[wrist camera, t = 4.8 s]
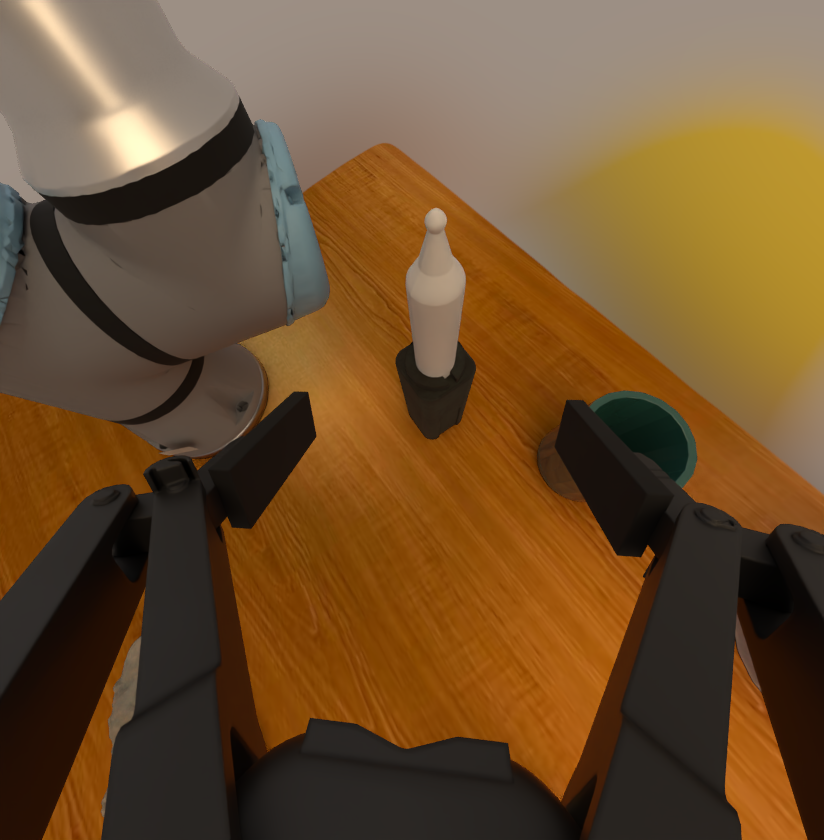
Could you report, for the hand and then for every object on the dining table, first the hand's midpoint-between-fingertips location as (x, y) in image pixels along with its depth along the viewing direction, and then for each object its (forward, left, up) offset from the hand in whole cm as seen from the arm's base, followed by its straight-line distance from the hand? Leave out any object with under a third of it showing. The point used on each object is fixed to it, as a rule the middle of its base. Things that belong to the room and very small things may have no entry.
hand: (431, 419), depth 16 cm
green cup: (+7, +14, -19) cm, 24 cm away
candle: (-5, +3, -19) cm, 20 cm away
